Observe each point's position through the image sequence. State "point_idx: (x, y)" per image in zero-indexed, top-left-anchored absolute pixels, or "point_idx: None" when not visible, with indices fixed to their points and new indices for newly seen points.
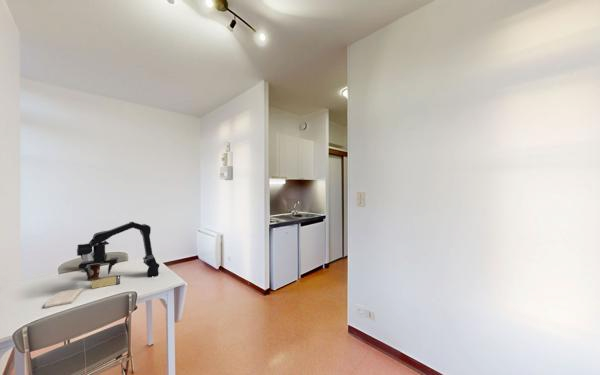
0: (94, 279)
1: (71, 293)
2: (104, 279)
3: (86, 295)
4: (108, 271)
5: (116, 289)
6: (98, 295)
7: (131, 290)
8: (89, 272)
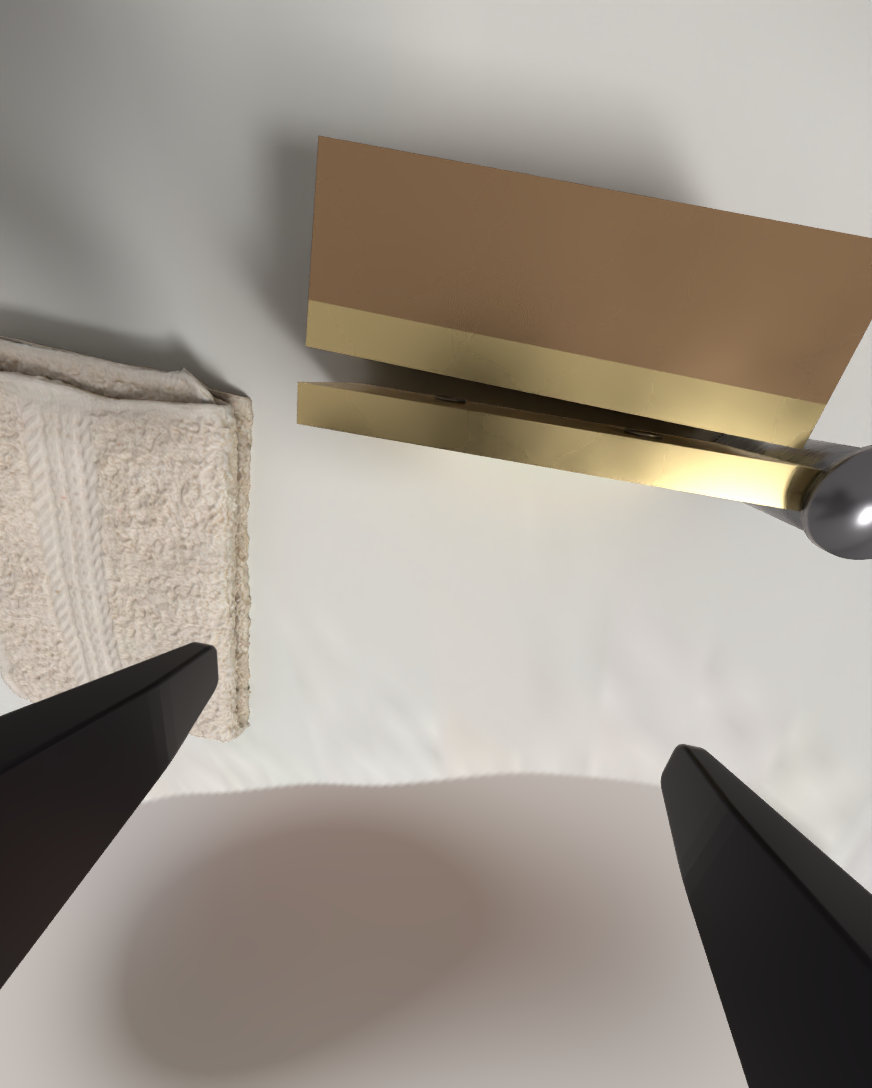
0: (331, 291)
1: (143, 566)
2: (544, 464)
3: (334, 618)
4: (723, 967)
5: (655, 672)
6: (457, 707)
7: (789, 815)
8: (44, 879)
